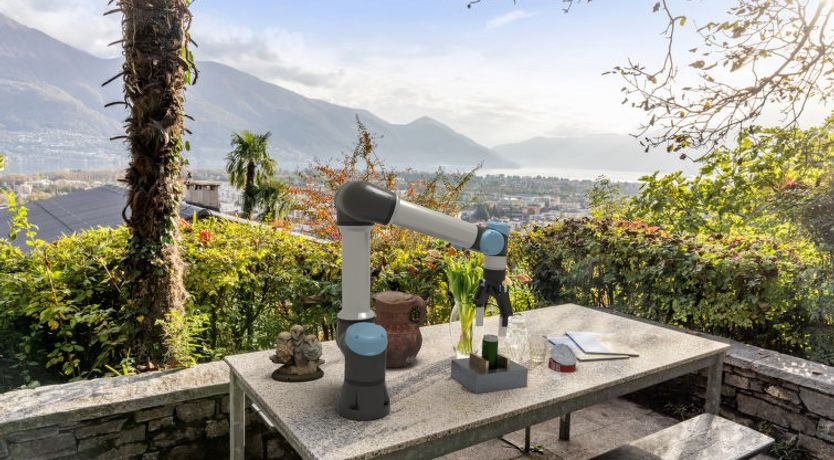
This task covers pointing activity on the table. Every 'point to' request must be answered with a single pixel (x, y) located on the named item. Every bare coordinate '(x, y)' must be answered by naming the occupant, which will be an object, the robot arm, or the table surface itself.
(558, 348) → the canned food
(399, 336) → the jug
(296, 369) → the owl figurine
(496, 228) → the robot arm
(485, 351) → the beer can
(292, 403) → the table surface
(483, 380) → the grey fixture block
